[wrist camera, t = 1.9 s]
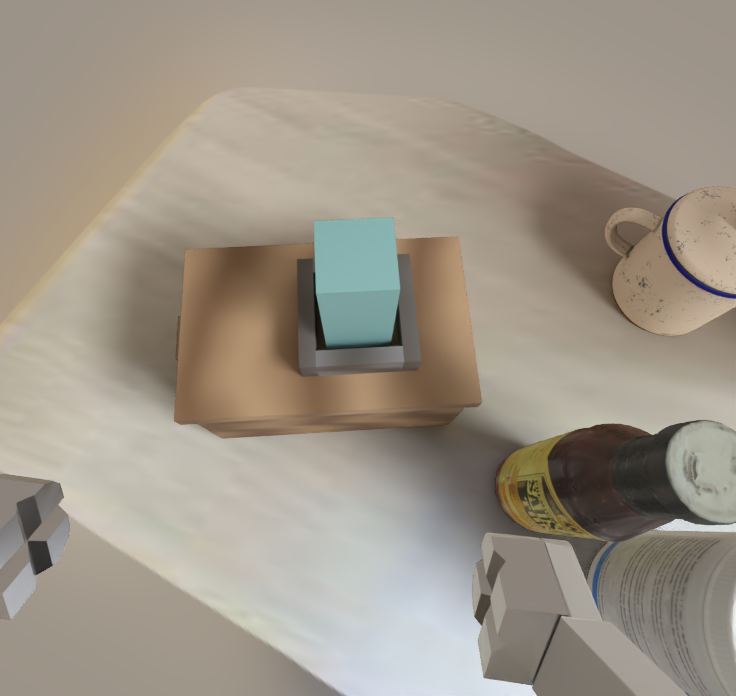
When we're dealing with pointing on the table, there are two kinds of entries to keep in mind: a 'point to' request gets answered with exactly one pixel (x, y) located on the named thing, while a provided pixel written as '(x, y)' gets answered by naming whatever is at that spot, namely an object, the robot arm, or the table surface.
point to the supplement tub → (674, 603)
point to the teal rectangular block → (356, 281)
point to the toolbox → (319, 346)
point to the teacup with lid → (678, 262)
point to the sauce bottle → (621, 480)
